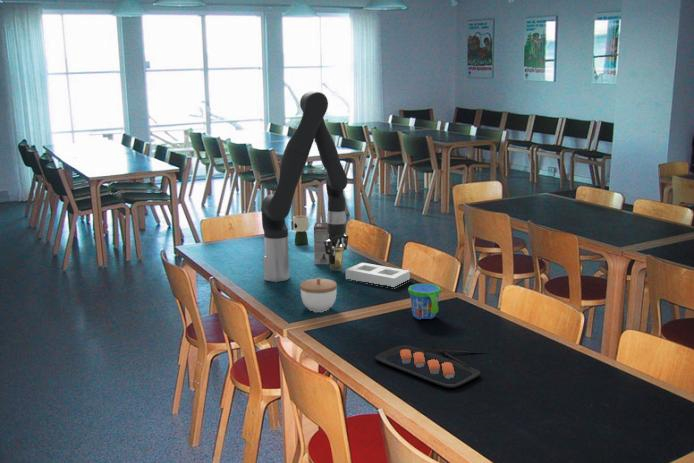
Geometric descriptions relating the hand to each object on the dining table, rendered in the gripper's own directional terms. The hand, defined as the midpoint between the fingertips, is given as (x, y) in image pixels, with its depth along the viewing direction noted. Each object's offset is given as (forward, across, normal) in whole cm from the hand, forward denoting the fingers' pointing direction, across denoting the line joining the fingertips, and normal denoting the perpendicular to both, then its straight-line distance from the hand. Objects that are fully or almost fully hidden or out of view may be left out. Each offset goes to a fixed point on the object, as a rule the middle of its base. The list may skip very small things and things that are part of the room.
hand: (336, 262), depth 294 cm
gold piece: (+2, 0, 0) cm, 2 cm away
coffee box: (+4, +9, +14) cm, 17 cm away
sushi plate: (+5, -56, -77) cm, 96 cm away
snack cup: (+4, -27, -55) cm, 62 cm away
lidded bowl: (+4, -40, -21) cm, 46 cm away
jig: (+4, 0, -20) cm, 20 cm away
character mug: (+4, +28, +40) cm, 49 cm away
